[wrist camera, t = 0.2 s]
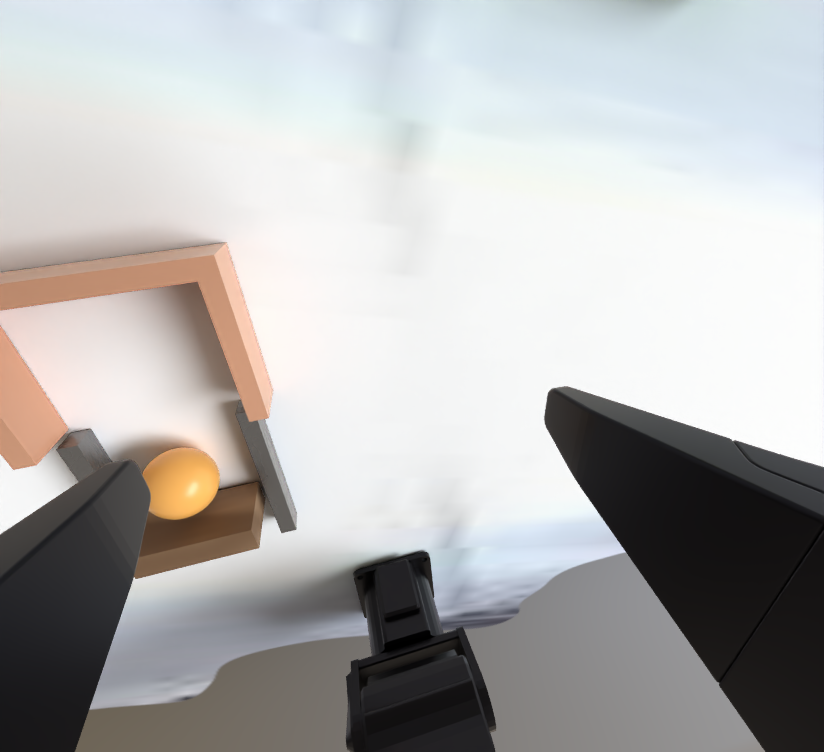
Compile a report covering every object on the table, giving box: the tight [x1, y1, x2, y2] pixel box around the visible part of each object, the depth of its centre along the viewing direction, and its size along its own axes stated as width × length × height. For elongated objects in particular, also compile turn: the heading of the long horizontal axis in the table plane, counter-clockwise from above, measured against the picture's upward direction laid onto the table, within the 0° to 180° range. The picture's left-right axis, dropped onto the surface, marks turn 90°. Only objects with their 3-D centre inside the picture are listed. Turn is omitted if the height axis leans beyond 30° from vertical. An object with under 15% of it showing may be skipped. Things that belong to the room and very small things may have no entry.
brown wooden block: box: [134, 482, 265, 579], centre depth 24 cm, size 2×7×4 cm, turn 96°
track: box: [56, 400, 297, 533], centre depth 24 cm, size 10×10×2 cm
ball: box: [142, 447, 220, 520], centre depth 22 cm, size 4×4×4 cm
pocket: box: [0, 242, 273, 470], centre depth 19 cm, size 8×12×3 cm
